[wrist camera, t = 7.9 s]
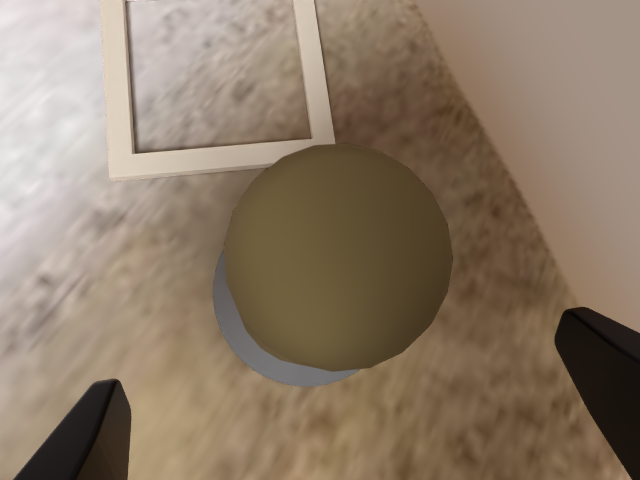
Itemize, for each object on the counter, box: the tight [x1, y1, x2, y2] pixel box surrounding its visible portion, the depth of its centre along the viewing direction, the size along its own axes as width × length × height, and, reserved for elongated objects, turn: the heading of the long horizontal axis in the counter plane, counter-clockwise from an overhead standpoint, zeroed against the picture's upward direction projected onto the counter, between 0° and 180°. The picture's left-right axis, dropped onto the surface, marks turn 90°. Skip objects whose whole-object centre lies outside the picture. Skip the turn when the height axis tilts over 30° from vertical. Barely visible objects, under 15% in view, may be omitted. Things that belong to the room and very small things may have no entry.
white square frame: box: [100, 0, 335, 182], centre depth 22 cm, size 10×10×1 cm
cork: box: [224, 143, 453, 372], centre depth 15 cm, size 6×6×11 cm
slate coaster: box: [213, 250, 360, 386], centre depth 20 cm, size 8×8×1 cm
